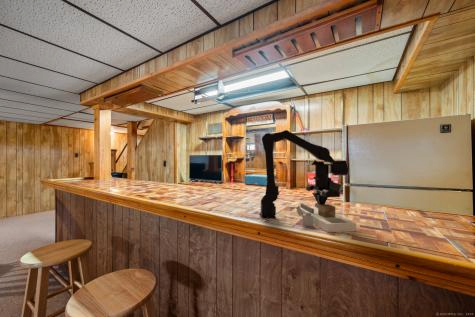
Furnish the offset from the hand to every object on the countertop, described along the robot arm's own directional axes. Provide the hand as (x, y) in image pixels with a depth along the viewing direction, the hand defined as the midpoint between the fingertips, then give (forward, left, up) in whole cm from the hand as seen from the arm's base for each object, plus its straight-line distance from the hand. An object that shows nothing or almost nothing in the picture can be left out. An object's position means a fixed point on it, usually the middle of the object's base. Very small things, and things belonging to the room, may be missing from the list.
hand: (321, 209), depth 93 cm
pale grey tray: (0, -1, -5) cm, 5 cm away
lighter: (-11, -6, -5) cm, 13 cm away
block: (0, -4, -2) cm, 5 cm away
